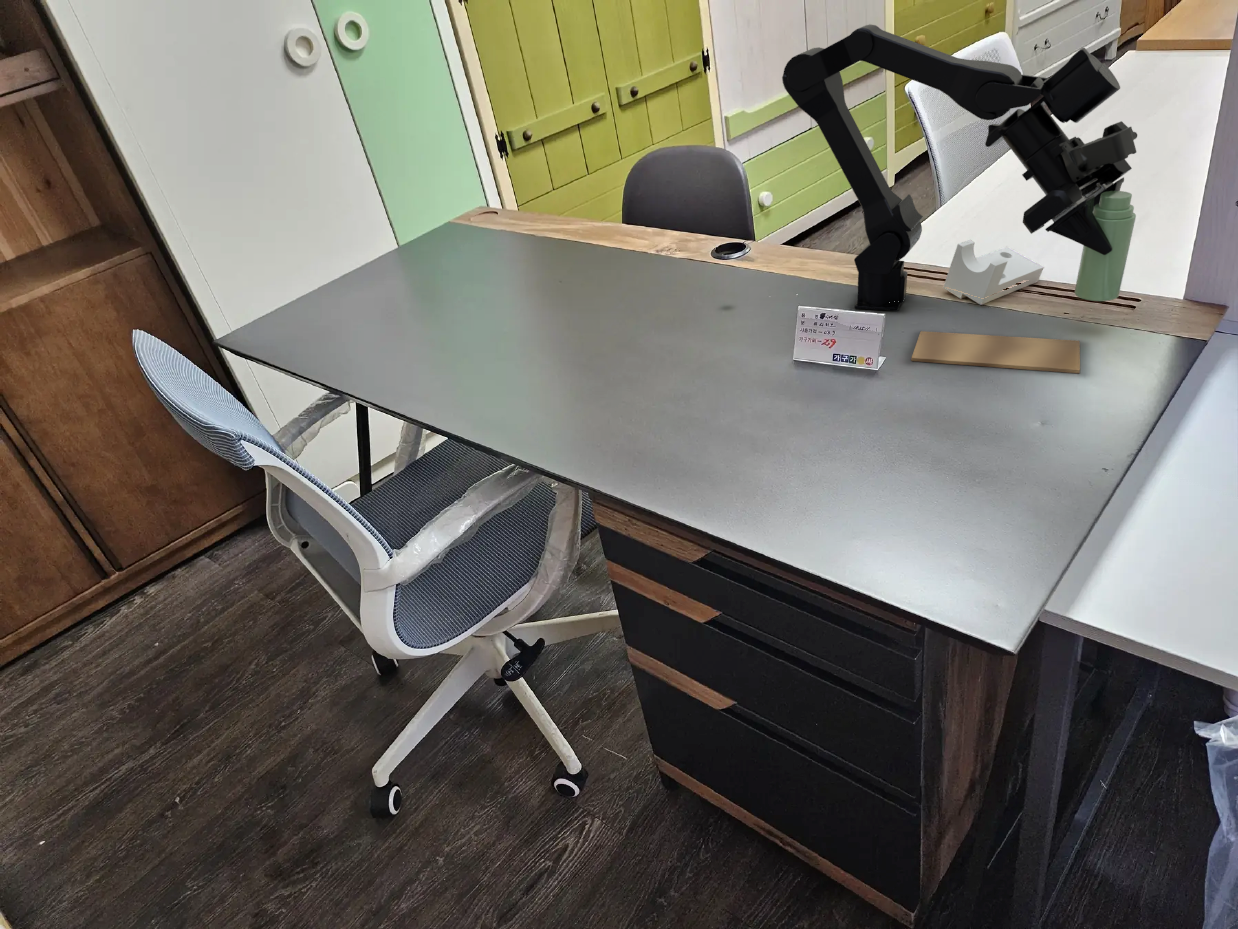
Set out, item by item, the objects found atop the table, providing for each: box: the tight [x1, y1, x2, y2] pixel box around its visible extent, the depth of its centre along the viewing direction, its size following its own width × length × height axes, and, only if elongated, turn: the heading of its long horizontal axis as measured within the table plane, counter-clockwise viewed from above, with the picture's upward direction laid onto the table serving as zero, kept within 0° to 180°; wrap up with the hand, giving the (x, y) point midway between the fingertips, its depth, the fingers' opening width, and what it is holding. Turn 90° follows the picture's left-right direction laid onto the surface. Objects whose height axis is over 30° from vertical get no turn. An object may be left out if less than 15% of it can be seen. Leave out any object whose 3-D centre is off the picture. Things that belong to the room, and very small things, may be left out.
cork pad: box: [910, 330, 1081, 374], centre depth 112 cm, size 20×9×1 cm, turn 66°
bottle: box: [1074, 190, 1137, 302], centre depth 108 cm, size 5×5×13 cm
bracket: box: [943, 239, 1045, 306], centre depth 129 cm, size 13×7×8 cm, turn 121°
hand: (1117, 246), depth 107 cm, fingers closed on bottle, 5 cm apart
